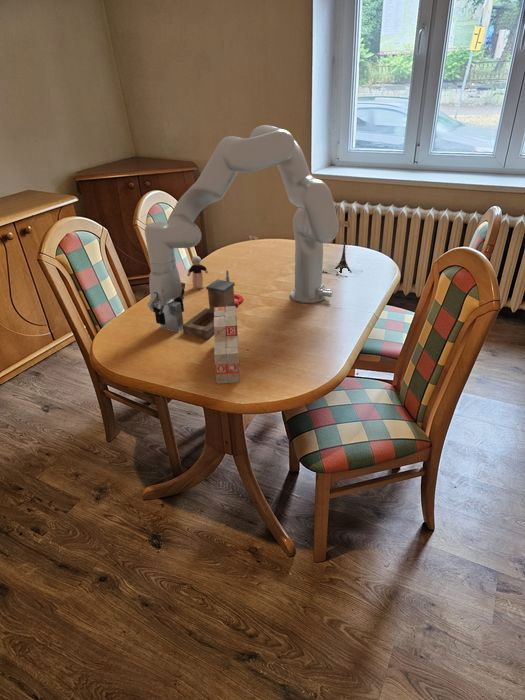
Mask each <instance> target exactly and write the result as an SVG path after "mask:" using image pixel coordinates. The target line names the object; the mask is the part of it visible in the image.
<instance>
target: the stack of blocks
mask: <svg viewBox="0 0 525 700" xmlns="http://www.w3.org/2000/svg"><path fill="white" fill-rule="evenodd" d="M214 332H215V334H214V344H213V351H214V352H213V353H214V356H213V357H214V370H215V380H216V381H215V382H216V384H218V385H219V384H229V383H230V384H236V383H240V363H239V362H240V361H239V360H240V357H239V333H238V319H237V307H236V306H228V307H215V308H214Z"/></svg>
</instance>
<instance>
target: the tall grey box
mask: <svg viewBox="0 0 525 700" xmlns="http://www.w3.org/2000/svg"><path fill="white" fill-rule="evenodd" d="M159 303H161V302H160V301H159ZM158 309H160V305H158ZM163 313H164V315H165V322H166V324H165V325H162V324H159V326H160V329H163V328H164V329H163V330H167V329H169V330H168V331H171V330H173V331H172V332H175V331H176V332H175V333H180V332H182V331H183V324H184V319H183V318H184V317H183V312H182V309H181V303H180V302H175V301H174V300H173V301H171V302H170V303H168V304H166V305H164V309H163ZM179 331H180V332H179Z"/></svg>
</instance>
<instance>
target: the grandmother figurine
mask: <svg viewBox="0 0 525 700" xmlns="http://www.w3.org/2000/svg"><path fill="white" fill-rule="evenodd" d="M191 261H192V265H191V266H190V267H189V269H188V272H187V274H186V275H187V277H190V276H191V274H192V286H193V287H192V289H191V290H193V291H195V290H198V289H199V290H203V289H204V288H205V287H204V276H203V272H205V274H209V271H208V270H207V267H206V266H204V265H203V264H201V261H202V259H201V257H200V256H198V255H193V256H192V258H191ZM202 271H203V272H202Z"/></svg>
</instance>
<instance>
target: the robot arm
mask: <svg viewBox="0 0 525 700" xmlns="http://www.w3.org/2000/svg"><path fill="white" fill-rule="evenodd" d="M273 166H274V167H275V166H276V167H277V169H278V171H279V174H280V176H281V180H282V183H283V186H284V189H285V192H286V195H287V199H288V200H289V202H290V203H291V204H292V205H294V206H296V207H298V208H297V210H296V211H295V213H294V214H293V219H292V230H293V233H294V234H293V235H294V236H293V237H294V249H295V250H294V288H293V289H292V290H291V291H290V292H289V293H290V294H289V297H290V298H291V300H293V301H295V302H297V303H301V304H316V303H319V302H321V301H322V302H323V300H325V298H326V297H327V298H332V296H333V291H332V289H331V288H326V287H325V283H323V282H322V281H323V273H322V271H323V264H324V263H323V262H324V261H323V260H324V244H329V243H331V242H333V241H334V239H336V238H337V235H338V233H339V228H340V227H339V226H340V224H339V218H338V213H337V210H336V207H335V206H336V205H335V203H334V198H333V194H332V191H331V190H330V187H329V186H328V185H327V184H326V183H325V182H324V181H323V180H321V179H318V178H315V177H314V176H313V175H312V174H311V171H310V169H309V166H308V163H307V160H306V157H305V154H304V153H303V150H302V148H301V146H300V145H299V144H298V142H297V141H296V140H295V138H294V136H293V135H292V133H291V132H289V130H286V129H283V128H279V127H276V126H272V125H267V124H264V125H259V126H257V127H255V128H254V129H253V130H252V131H251V133H250V136H249V137H246V138H243V137H238V136H233V135H229V136H226V137H223V138H222V139H221V141H219V143H218V144H217V146H216V148H215V150H214V151H213V153H212V154H211V156H210V158H209V160H208V161H207V163H206V165H205V167H204V168H203V170H202V171H201V173H200V175H199V176H198V178H197V180H196V182H194V183H193V184H192V185H191V186H190V187H189V188H188V189H187V190H186V191H185V192H184V194H183V195H181V196H180V198H179V200H177V203H176V204H175V206H174V207H173V209H172V211H171V213H170V214H169V217H168V218H167V221H166V222H165V221H154V222H151V223H148V224H146V226H145V227H144V236H145V242H146V248H147V253H148V261H149V266H150V272H149V277H148V282H149V284H148V285H149V295H150V296H149V297H150V299H149V301H148V302H147V306H148V308H149V310H150V311H152V312H153V313H154V316H155V317H154V318H155V321H156V324H159V325H160V324H162V325H165V324H166V322H165V315H164V313H163V309H164V305H166V304H168V303H170V302H171V301H175V302H180V303H181V309H182V313H184V312H185V308H184V298H185V297H184V295H185V292H186V291H185V289H186V283H185V282H181V277H180V273H179V270H178V266H177V262H176V254H175V249H190V248H194V247H195V246H197V245H198V244H199V243H200V242H201V239H202V232H201V230H200V229H201V228H199V226H198V225H197V224H196V223H195V221H196V219H197V217H198V216H199V214H200V213H201V211H203V210H204V209H205V208H206V207H207V206H209V205H210V204H213V203H216V202H218V201H220V200H222V199H223V198H224V196H225V195H226V193H227V191H228V190H229V188H230V186H231V185H232V184H233V181H234V180H235V179H236V177H237V175H238V173H241V174H246V173H252V172H256V171H259V170H263V169H266V168H270V167H273ZM159 301H160V302H161V303H159ZM158 305H160V309H158Z"/></svg>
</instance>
